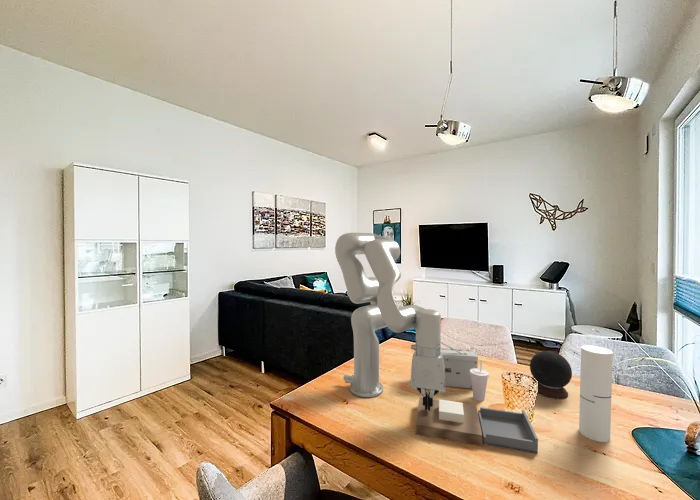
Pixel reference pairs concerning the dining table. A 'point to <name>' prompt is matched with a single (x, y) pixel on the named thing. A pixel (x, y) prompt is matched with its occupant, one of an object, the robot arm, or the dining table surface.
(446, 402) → the tile
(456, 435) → the board
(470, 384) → the stereo radio cassette player
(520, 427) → the tray
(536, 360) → the round black desktop speaker
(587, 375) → the cylindrical container
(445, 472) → the dining table surface
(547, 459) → the dining table surface
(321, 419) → the dining table surface
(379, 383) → the robot arm
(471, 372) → the smoothie
